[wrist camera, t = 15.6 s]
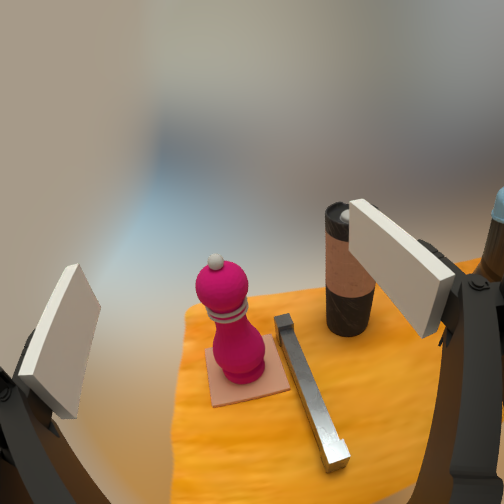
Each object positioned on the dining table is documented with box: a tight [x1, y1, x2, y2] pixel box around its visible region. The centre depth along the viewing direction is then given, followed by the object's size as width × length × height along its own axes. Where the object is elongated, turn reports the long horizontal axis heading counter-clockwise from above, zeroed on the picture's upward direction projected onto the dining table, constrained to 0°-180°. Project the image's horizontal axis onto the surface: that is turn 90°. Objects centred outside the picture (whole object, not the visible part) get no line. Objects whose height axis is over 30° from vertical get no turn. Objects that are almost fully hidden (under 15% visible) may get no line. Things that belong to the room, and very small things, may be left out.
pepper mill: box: [196, 254, 265, 384], centre depth 37 cm, size 7×7×20 cm
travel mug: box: [325, 202, 380, 337], centre depth 43 cm, size 8×8×20 cm
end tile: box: [205, 334, 290, 408], centre depth 43 cm, size 11×11×1 cm
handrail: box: [274, 313, 351, 473], centre depth 36 cm, size 24×2×4 cm, turn 11°
